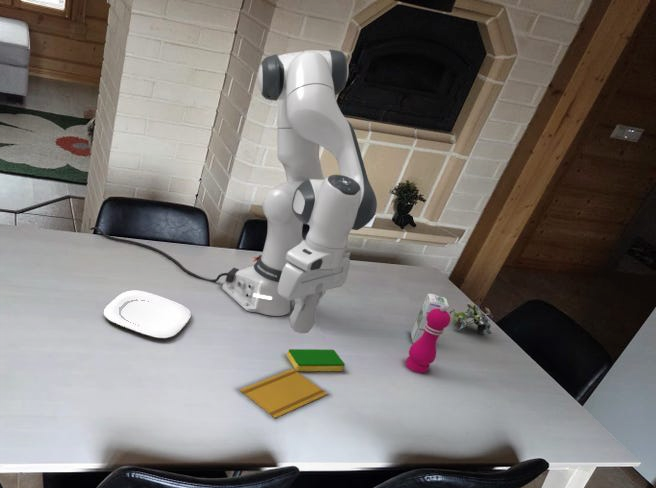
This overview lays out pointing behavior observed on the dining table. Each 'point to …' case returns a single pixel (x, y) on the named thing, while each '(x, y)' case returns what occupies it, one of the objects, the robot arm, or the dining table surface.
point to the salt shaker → (305, 313)
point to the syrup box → (428, 305)
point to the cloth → (283, 392)
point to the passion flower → (478, 318)
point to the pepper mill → (428, 341)
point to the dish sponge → (315, 360)
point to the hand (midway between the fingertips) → (305, 308)
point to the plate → (148, 314)
